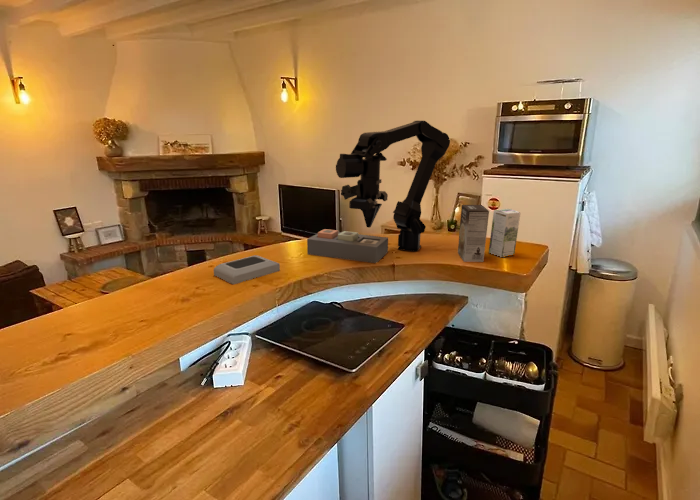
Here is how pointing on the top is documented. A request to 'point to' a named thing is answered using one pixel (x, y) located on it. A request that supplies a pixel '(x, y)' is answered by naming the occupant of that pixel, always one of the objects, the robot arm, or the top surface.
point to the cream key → (369, 241)
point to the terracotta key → (328, 234)
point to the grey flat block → (245, 269)
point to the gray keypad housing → (349, 248)
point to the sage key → (348, 236)
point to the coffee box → (473, 233)
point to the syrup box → (504, 232)
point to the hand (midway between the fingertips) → (368, 227)
